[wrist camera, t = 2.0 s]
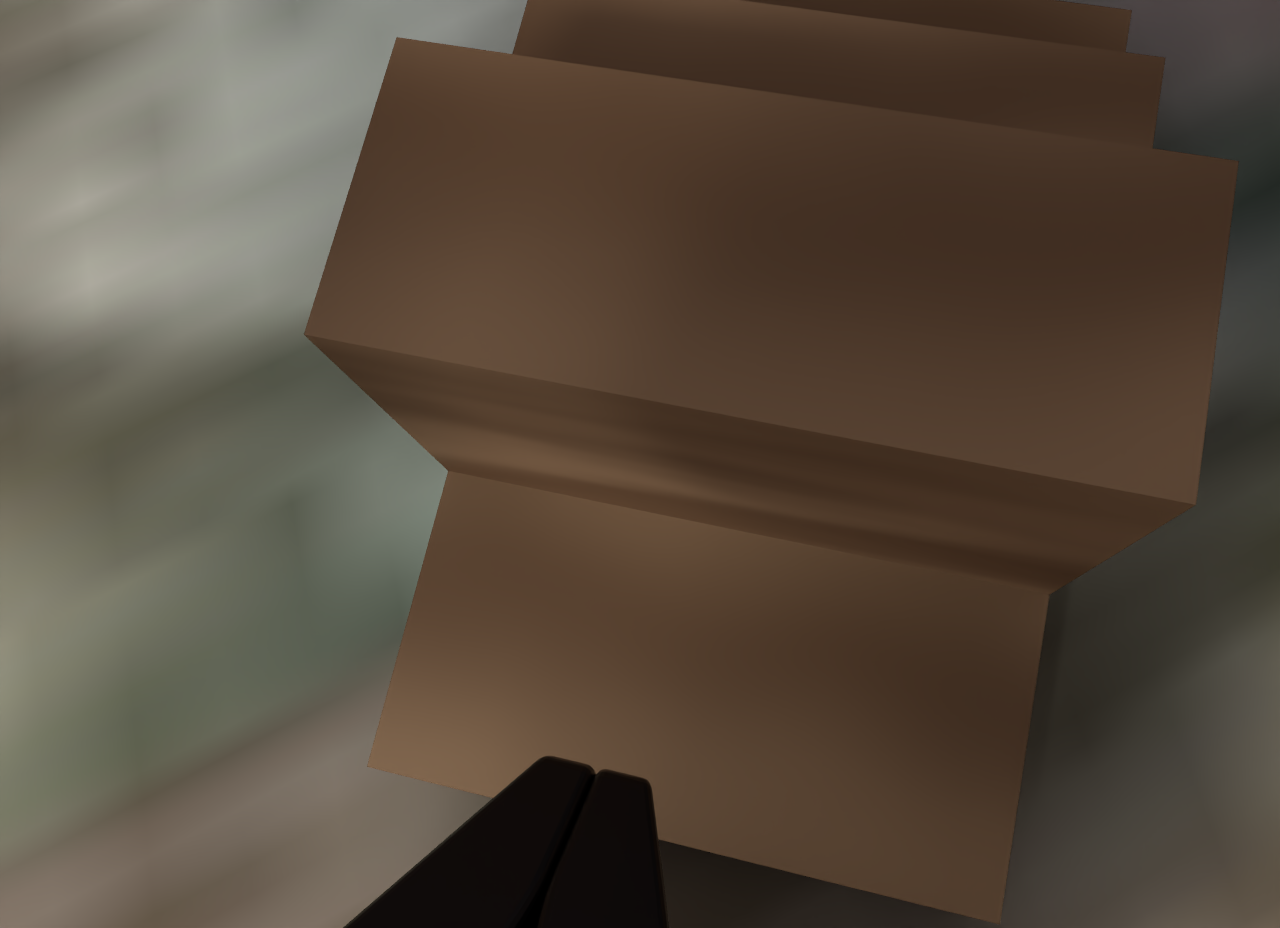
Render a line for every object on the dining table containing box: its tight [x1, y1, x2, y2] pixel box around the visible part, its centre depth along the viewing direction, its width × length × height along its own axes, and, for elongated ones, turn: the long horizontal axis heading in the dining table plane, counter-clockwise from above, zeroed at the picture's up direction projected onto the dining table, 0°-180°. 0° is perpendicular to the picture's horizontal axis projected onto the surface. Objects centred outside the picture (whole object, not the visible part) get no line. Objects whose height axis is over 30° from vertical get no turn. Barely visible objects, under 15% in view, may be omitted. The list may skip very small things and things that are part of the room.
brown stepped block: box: [304, 0, 1239, 924], centre depth 18 cm, size 16×10×9 cm, turn 167°
